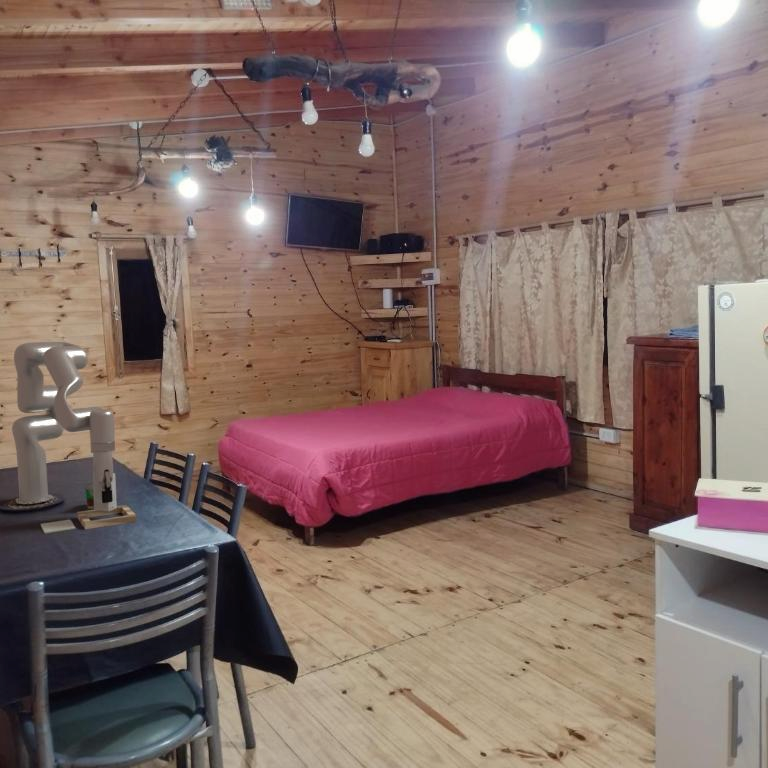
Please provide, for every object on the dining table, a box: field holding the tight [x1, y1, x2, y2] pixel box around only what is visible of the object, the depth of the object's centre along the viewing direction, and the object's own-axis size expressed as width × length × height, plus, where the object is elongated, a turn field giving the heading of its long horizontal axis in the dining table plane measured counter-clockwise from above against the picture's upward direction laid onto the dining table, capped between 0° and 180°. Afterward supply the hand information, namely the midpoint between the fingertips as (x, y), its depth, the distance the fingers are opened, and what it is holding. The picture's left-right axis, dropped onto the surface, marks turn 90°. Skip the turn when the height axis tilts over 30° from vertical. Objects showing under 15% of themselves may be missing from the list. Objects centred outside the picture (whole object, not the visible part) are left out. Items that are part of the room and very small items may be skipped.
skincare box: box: [92, 472, 118, 511], centre depth 240 cm, size 6×4×12 cm
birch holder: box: [76, 504, 138, 530], centre depth 240 cm, size 16×16×2 cm
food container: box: [83, 482, 94, 511], centre depth 255 cm, size 12×6×10 cm, turn 168°
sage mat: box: [40, 519, 76, 534], centre depth 233 cm, size 11×9×1 cm
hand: (105, 499), depth 240 cm, fingers closed on skincare box, 7 cm apart
